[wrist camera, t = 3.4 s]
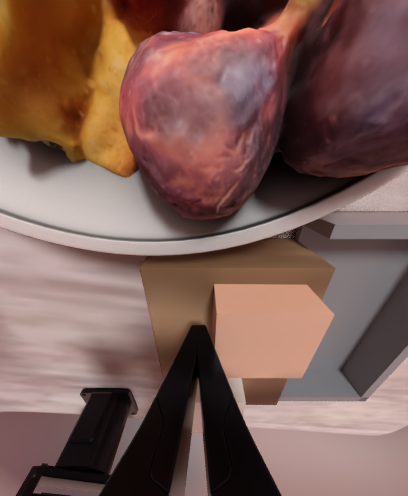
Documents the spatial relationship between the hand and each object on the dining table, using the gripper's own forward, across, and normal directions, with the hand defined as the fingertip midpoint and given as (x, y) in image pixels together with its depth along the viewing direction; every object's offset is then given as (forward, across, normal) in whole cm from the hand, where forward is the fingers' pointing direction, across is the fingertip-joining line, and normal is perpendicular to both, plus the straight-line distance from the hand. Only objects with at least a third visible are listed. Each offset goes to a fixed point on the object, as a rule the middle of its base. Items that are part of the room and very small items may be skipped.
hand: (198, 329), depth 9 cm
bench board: (+5, -2, +4) cm, 7 cm away
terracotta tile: (+1, -3, 0) cm, 3 cm away
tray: (+5, -12, +4) cm, 14 cm away
